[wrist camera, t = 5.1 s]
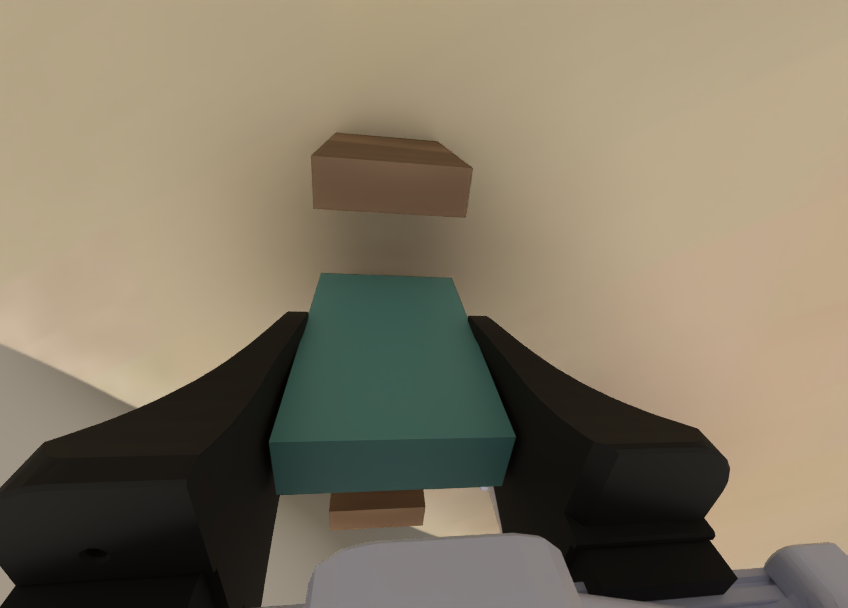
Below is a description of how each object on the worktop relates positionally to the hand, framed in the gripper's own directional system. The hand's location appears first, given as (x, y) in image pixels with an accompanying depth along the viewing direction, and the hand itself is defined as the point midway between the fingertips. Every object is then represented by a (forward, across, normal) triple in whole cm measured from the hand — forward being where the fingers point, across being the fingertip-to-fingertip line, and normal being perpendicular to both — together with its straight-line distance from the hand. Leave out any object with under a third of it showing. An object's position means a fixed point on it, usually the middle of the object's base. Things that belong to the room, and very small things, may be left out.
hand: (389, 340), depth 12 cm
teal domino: (+3, 0, 0) cm, 3 cm away
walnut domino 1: (+10, 0, -4) cm, 11 cm away
